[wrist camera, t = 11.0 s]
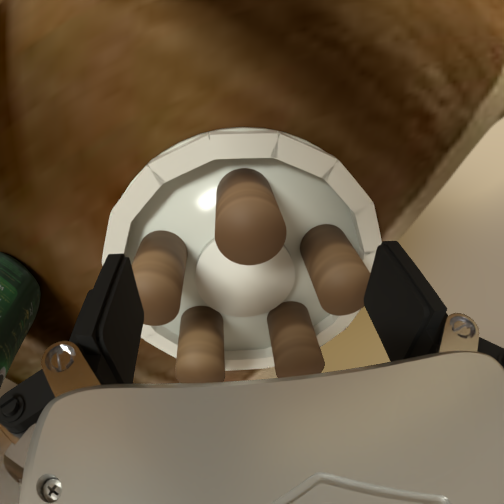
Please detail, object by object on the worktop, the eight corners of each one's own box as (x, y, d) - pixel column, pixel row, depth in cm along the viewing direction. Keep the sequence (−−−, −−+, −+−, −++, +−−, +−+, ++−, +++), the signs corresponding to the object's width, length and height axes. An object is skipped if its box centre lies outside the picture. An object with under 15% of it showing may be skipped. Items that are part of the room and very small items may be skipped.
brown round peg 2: (301, 224, 24) (323, 270, 19) (349, 223, 24) (380, 266, 19) (298, 267, 26) (315, 318, 21) (342, 264, 26) (368, 312, 21)
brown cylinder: (135, 231, 23) (113, 279, 18) (185, 228, 23) (175, 277, 18) (143, 273, 25) (127, 325, 20) (189, 272, 25) (183, 325, 20)
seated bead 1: (177, 306, 27) (170, 360, 22) (222, 304, 27) (223, 358, 22) (183, 337, 29) (179, 389, 24) (224, 335, 29) (226, 388, 24)
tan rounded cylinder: (215, 169, 21) (212, 203, 16) (271, 167, 21) (288, 200, 16) (217, 220, 23) (216, 266, 18) (270, 218, 23) (284, 263, 18)
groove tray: (88, 140, 20) (76, 147, 18) (389, 133, 21) (403, 139, 20) (140, 355, 31) (137, 371, 29) (347, 344, 33) (353, 359, 31)
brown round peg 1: (267, 302, 27) (277, 355, 22) (310, 299, 28) (328, 350, 23) (266, 333, 29) (274, 385, 24) (306, 330, 30) (320, 380, 25)
